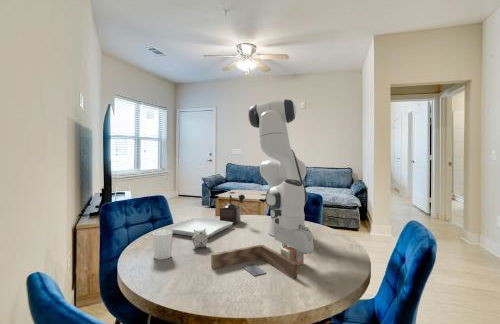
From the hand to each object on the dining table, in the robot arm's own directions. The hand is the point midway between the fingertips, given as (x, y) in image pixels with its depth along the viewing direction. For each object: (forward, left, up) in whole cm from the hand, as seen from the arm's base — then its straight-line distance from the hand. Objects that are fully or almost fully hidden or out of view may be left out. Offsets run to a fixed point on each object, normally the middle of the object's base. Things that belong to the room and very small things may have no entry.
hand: (292, 257), depth 107 cm
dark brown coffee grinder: (-8, -66, -3) cm, 67 cm away
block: (0, 0, -2) cm, 2 cm away
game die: (+25, -34, -2) cm, 42 cm away
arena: (+17, -1, -2) cm, 18 cm away
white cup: (+42, -31, -2) cm, 52 cm away
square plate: (+16, -59, -3) cm, 61 cm away
